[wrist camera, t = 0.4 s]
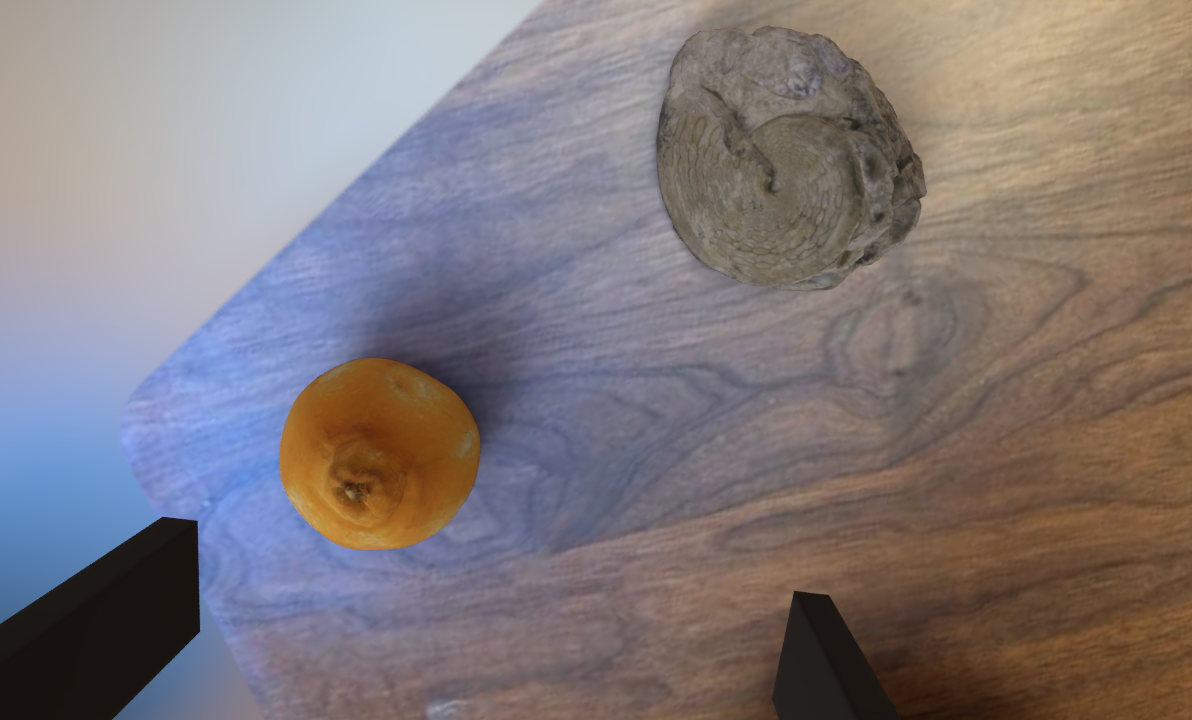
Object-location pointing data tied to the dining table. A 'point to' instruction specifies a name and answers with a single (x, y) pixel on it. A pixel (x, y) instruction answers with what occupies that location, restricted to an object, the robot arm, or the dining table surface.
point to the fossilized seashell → (783, 159)
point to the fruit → (378, 454)
